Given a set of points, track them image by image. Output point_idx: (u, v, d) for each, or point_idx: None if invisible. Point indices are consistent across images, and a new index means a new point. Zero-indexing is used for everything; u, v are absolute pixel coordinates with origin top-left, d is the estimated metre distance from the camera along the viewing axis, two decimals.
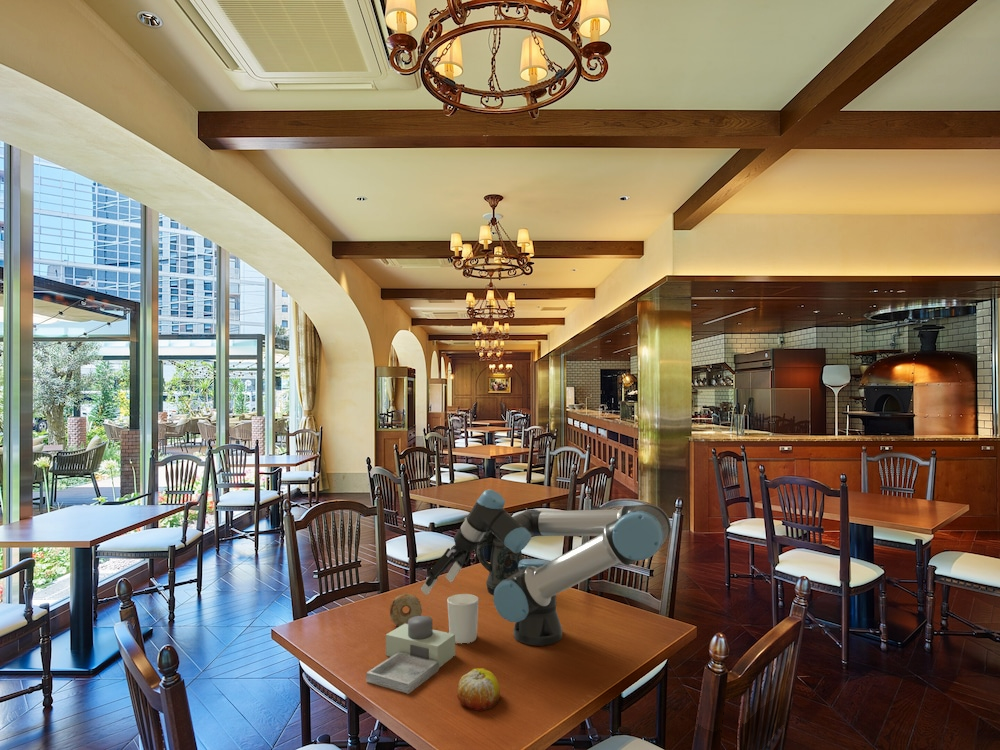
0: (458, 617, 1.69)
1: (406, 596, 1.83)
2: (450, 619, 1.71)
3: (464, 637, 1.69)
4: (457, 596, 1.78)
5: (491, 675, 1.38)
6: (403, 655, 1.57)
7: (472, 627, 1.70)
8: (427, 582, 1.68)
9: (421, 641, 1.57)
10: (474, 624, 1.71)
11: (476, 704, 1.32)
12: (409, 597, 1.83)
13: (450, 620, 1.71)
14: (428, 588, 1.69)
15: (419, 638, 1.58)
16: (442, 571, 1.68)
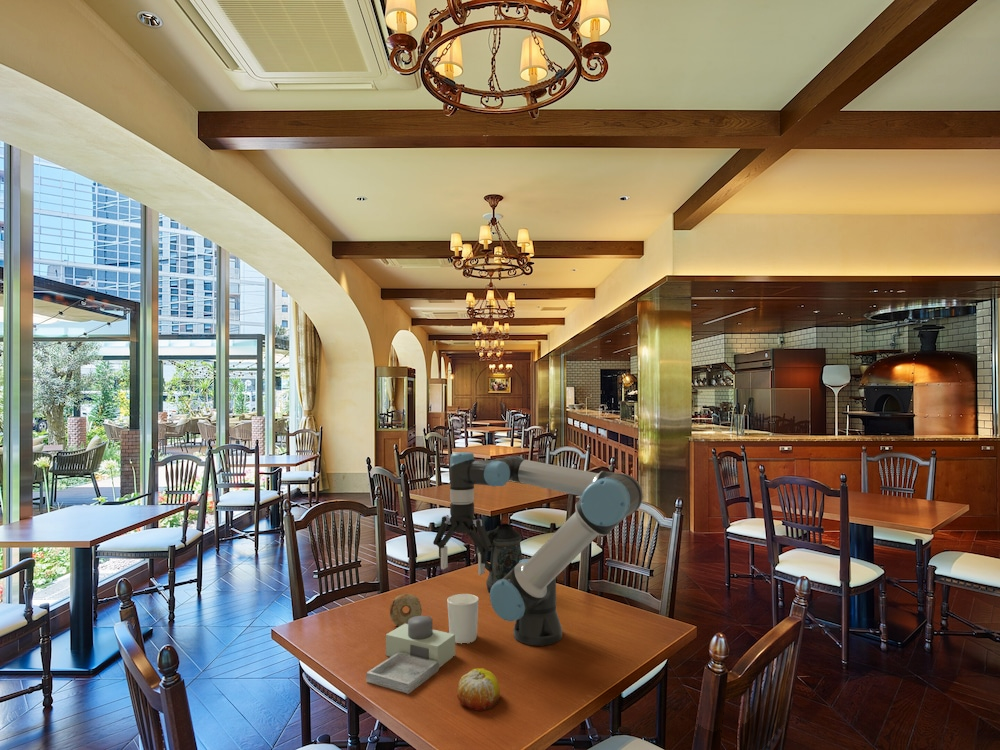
0: (458, 617, 1.69)
1: (406, 596, 1.83)
2: (450, 619, 1.71)
3: (464, 637, 1.69)
4: (457, 596, 1.78)
5: (491, 675, 1.38)
6: (403, 655, 1.57)
7: (472, 627, 1.70)
8: None
9: (421, 641, 1.57)
10: (474, 624, 1.71)
11: (476, 704, 1.32)
12: (409, 597, 1.83)
13: (450, 620, 1.71)
14: None
15: (419, 638, 1.58)
16: (443, 539, 1.76)
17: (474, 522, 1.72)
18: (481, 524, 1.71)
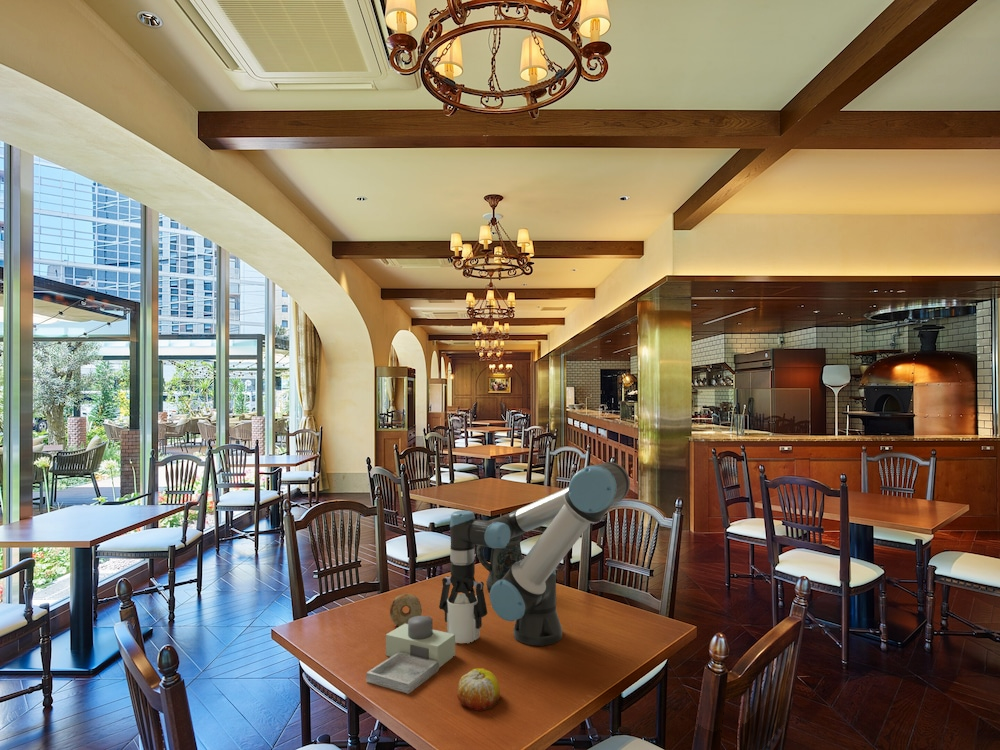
0: (458, 617, 1.69)
1: (406, 596, 1.83)
2: (450, 619, 1.71)
3: (464, 637, 1.69)
4: (457, 596, 1.78)
5: (491, 675, 1.38)
6: (403, 655, 1.57)
7: (472, 627, 1.70)
8: None
9: (421, 641, 1.57)
10: None
11: (476, 704, 1.32)
12: (409, 597, 1.83)
13: (450, 620, 1.71)
14: None
15: (419, 638, 1.58)
16: None
17: (474, 584, 1.71)
18: (481, 588, 1.71)
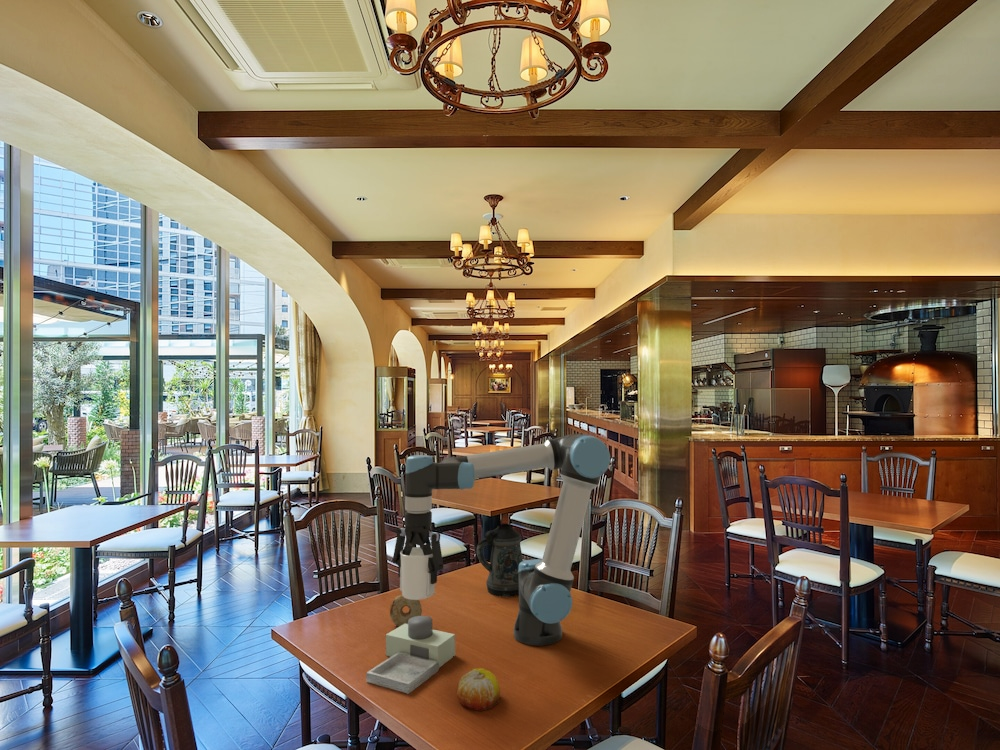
0: (410, 570, 1.52)
1: None
2: (402, 572, 1.54)
3: (417, 592, 1.52)
4: (413, 549, 1.61)
5: (491, 675, 1.38)
6: (403, 655, 1.57)
7: (426, 582, 1.53)
8: None
9: (421, 641, 1.57)
10: None
11: (476, 704, 1.32)
12: None
13: (402, 573, 1.54)
14: None
15: (419, 638, 1.58)
16: None
17: (430, 535, 1.55)
18: (437, 539, 1.54)
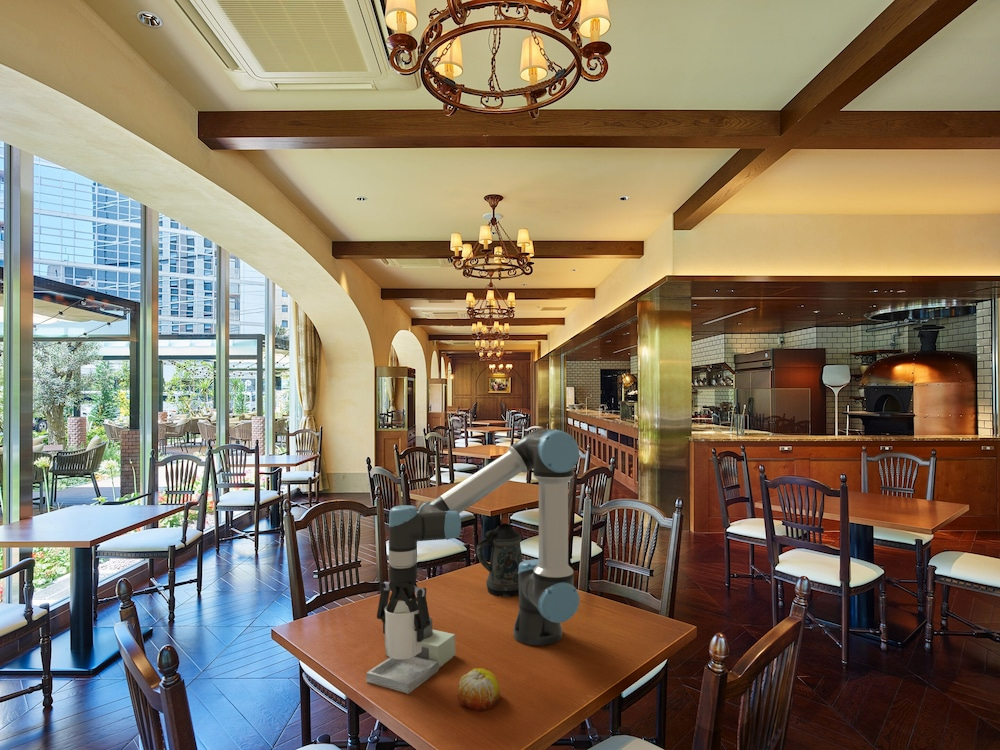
0: (396, 628, 1.46)
1: None
2: (387, 630, 1.48)
3: (402, 651, 1.46)
4: (398, 603, 1.55)
5: (491, 675, 1.38)
6: None
7: (412, 640, 1.47)
8: None
9: None
10: None
11: (476, 704, 1.32)
12: None
13: (387, 632, 1.48)
14: None
15: None
16: None
17: (416, 590, 1.48)
18: (423, 595, 1.48)
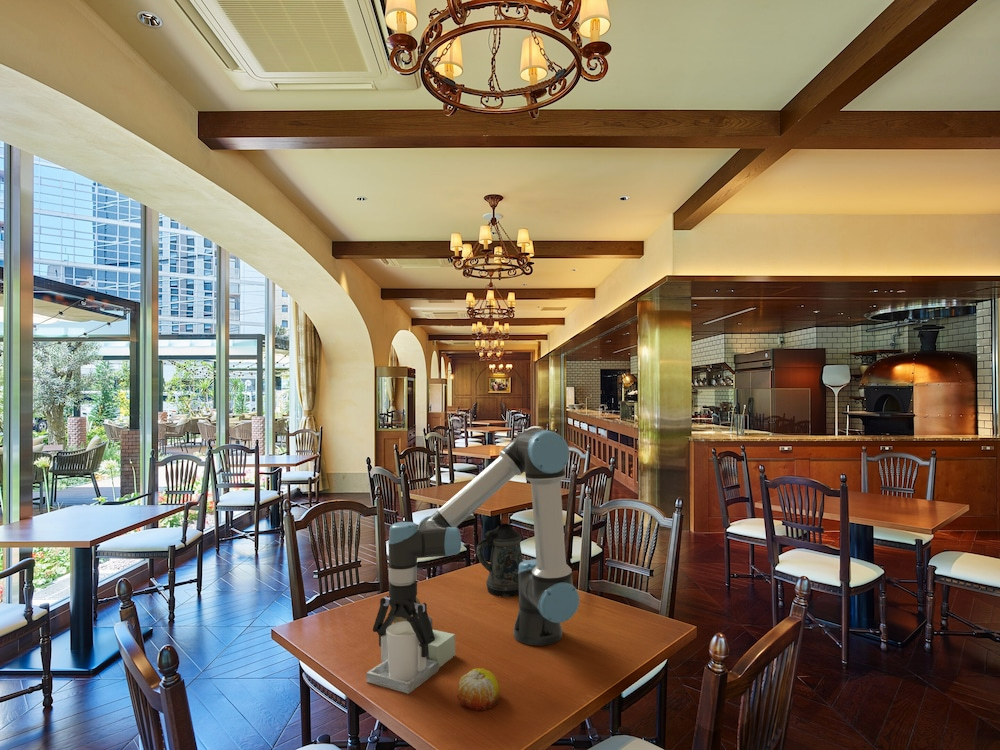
0: (397, 650, 1.45)
1: None
2: (389, 652, 1.47)
3: (404, 673, 1.45)
4: (400, 624, 1.54)
5: (491, 675, 1.38)
6: None
7: (414, 661, 1.47)
8: None
9: None
10: (416, 658, 1.47)
11: (476, 704, 1.32)
12: None
13: (389, 653, 1.47)
14: None
15: None
16: (383, 625, 1.52)
17: (416, 607, 1.48)
18: (423, 610, 1.47)
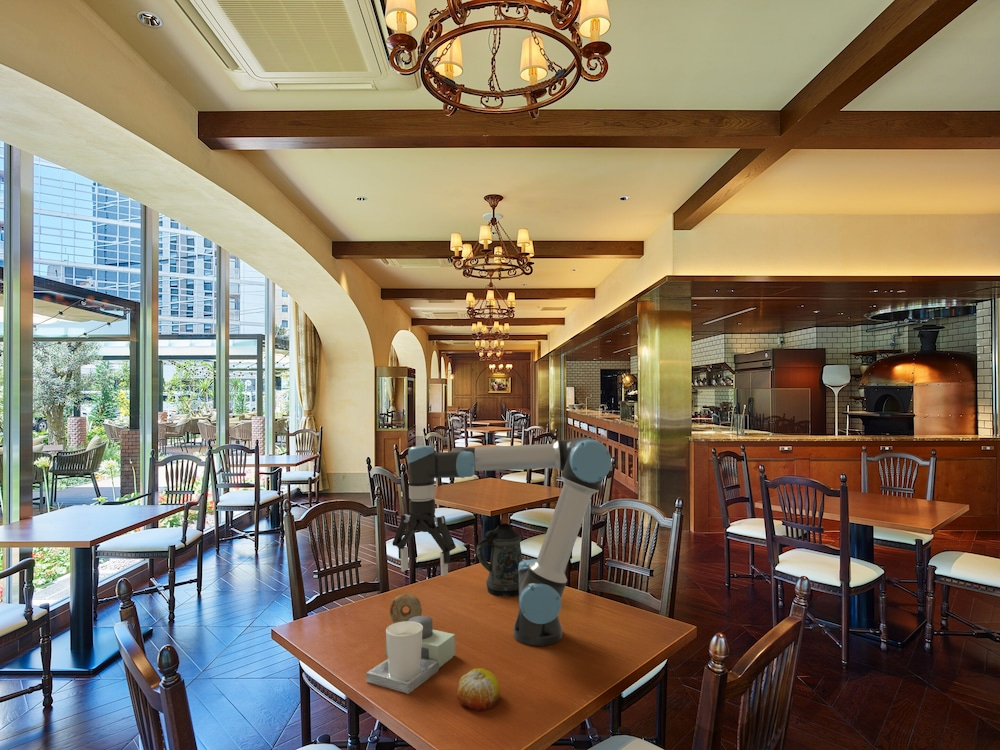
0: (397, 650, 1.45)
1: (406, 596, 1.83)
2: (389, 652, 1.47)
3: (404, 673, 1.45)
4: (399, 624, 1.54)
5: (491, 675, 1.38)
6: None
7: (414, 661, 1.47)
8: None
9: None
10: (416, 658, 1.47)
11: (476, 704, 1.32)
12: (409, 597, 1.83)
13: (389, 653, 1.47)
14: None
15: None
16: (403, 539, 1.65)
17: (435, 520, 1.61)
18: (443, 521, 1.61)
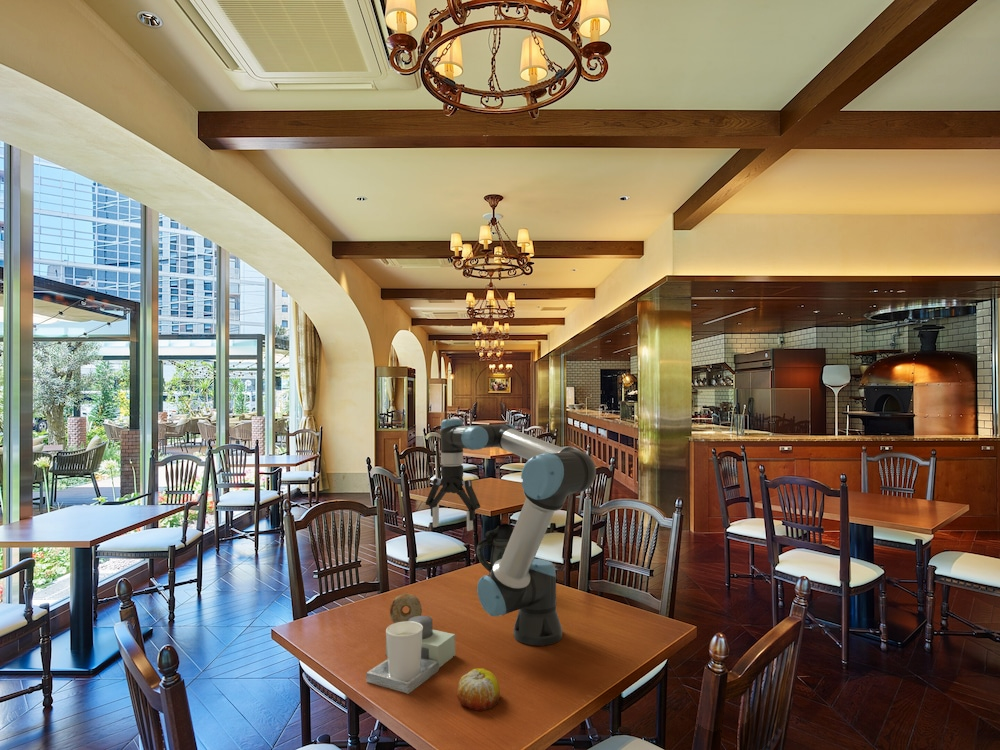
0: (397, 650, 1.45)
1: (406, 596, 1.83)
2: (388, 652, 1.47)
3: (404, 673, 1.45)
4: (399, 624, 1.54)
5: (491, 675, 1.38)
6: None
7: (414, 661, 1.47)
8: None
9: None
10: (416, 658, 1.47)
11: (476, 704, 1.32)
12: (409, 597, 1.83)
13: (389, 653, 1.47)
14: None
15: None
16: (434, 499, 1.90)
17: (463, 483, 1.86)
18: (469, 484, 1.85)
